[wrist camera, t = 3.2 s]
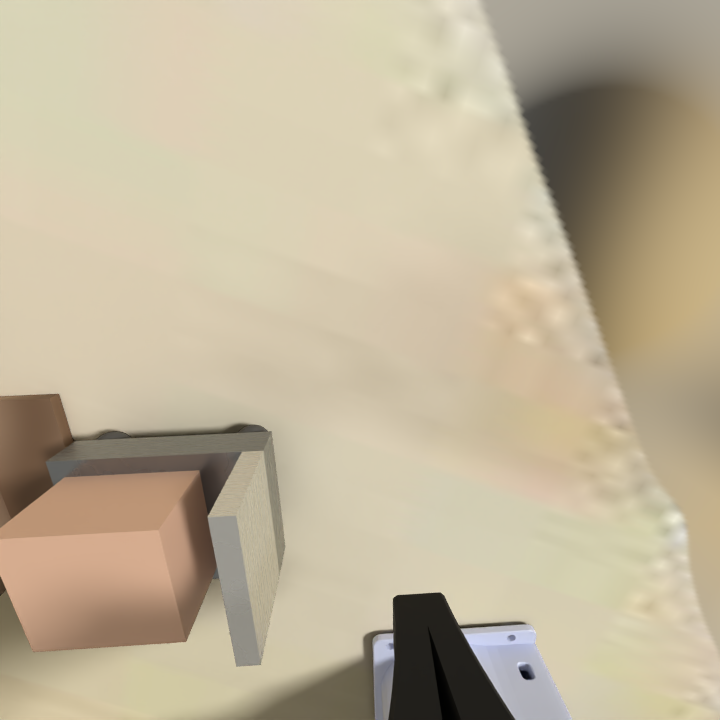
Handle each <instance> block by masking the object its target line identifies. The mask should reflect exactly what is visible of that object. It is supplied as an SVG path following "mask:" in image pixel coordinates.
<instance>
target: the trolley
mask: <svg viewBox="0 0 720 720" xmlns="http://www.w3.org/2000/svg"><path fill="white" fill-rule="evenodd" d="M46 465H47V468H48V471H49V474H50V477H51V479H52V482H53V485H54V486H53V487H52V488H50V489H49V490H48V491H47V492H45V493H44V494H43V495H42V496H40V497H39V498H38V499H36V500H35V501H34V502H33V503H31V504H30V505H29V506H28V507H26V508H25V509H24V510H22V511H21V512H20V513H19V514H17V515H16V516H15V517H14V518H12V519H11V520H10V521H9V522H7V523H6V524H5V525H3V526H2V527H1V528H0V576H1V578H2V581H3V583H4V585H5V588H6V590H7V592H8V595H9V597H10V599H11V602H12V604H13V606H14V609H15V611H16V613H17V616H18V618H19V620H20V623H21V625H22V627H23V630H24V632H25V634H26V637H27V639H28V641H29V644H30V646H31V648H32V651H33V652H41V651H56V650H71V649H86V648H101V647H116V646H131V645H146V644H161V643H177V642H186V641H187V638H188V636H189V634H190V631H191V629H192V626H193V624H194V622H195V619H196V617H197V614H198V612H199V609H200V607H201V605H202V602H203V600H204V597H205V595H206V592H207V590H208V588H209V585H210V583H211V580H212V579H217V578H219V579H220V584H221V589H222V595H223V600H224V605H225V610H226V615H227V620H228V625H229V631H230V636H231V641H232V646H233V651H234V656H235V661H236V667H237V666H251V665H261V661H262V656H263V652H264V647H265V642H266V637H267V632H268V627H269V623H270V618H271V613H272V608H273V603H274V598H275V594H276V589H277V584H278V579H279V574H280V569H281V565H282V560H283V555H284V550H285V540H284V531H283V523H282V515H281V506H280V498H279V489H278V481H277V473H276V464H275V456H274V447H273V439H272V431H269V432H268V431H267V430H266V429H265V428H264V427H262V426H259V425H249V426H246V427H244V428H242V429H241V430H240V431H239V432H238V433H228V434H208V435H187V436H167V437H147V438H131V437H130V436H129V435H127V434H125V433H123V432H117V431H115V432H108V433H105V434H103V435H101V436H100V437H98V438H97V439H96V440H85V441H75V442H74V443H72V444H71V445H69V446H68V447H66V448H65V449H63V450H62V451H60V452H59V453H57V454H56V455H55V456H53V457H52V458H50V459H49V460H47V461H46Z"/></svg>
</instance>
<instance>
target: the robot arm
mask: <svg viewBox="0 0 720 720" xmlns="http://www.w3.org/2000/svg"><path fill="white" fill-rule="evenodd" d="M535 641H536V632H535V630H534V628H533V627H532V626H531V625H528V624H522V625H507V626H492V627H477V628H462V629H460V627H459V625H458V623H457V621H456V619H455V617H454V615H453V613H452V611H451V609H450V607H449V605H448V603H447V601H446V599H445V596H444V595H443V594H442V593H425V594H409V595H397V596H396V597H394V598H393V633H387V634H378V635H376V636H375V637H374V638H373V641H372V643H373V675H374V707H375V720H572V718H571V715H570V713H569V711H568V709H567V707H566V705H565V703H564V701H563V699H562V697H561V695H560V693H559V691H558V689H557V687H556V685H555V683H554V681H553V679H552V677H551V675H550V673H549V671H548V669H547V667H546V664H545V662H544V660H543V658H542V656H541V654H540V652H539V650H538V648H537V646H536V644H535Z"/></svg>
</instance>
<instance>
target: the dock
mask: <svg viewBox="0 0 720 720" xmlns="http://www.w3.org/2000/svg"><path fill="white" fill-rule="evenodd" d="M72 443H74V442H73V438H72V435H71V432H70V429H69V425H68V422H67V419H66V416H65V412H64V409H63V406H62V403H61V399H60V396H59V394H46V395H24V396H2V397H0V528H1V527H2V526H3V525H5V524H6V523H7V522H9V521H10V520H11V519H12V518H14V517H15V516H16V515H17V514H19V513H20V512H21V511H22V510H24V509H25V508H26V507H28V506H29V505H30V504H31V503H33V502H34V501H35V500H36V499H38V498H39V497H40V496H42V495H43V494H44V493H45V492H47V491H48V490H49V489H50V488H52V487H53V486H54V485H53V482H52V479H51V477H50V474H49V471H48V468H47V465H46V461H47V460H49V459H50V458H52V457H53V456H55V455H56V454H57V453H59V452H60V451H62V450H63V449H65V448H66V447H68V446H69V445H71V444H72ZM5 590H6V588H5V585H4V583H3V581H2V578H1V576H0V595H1V594H2V593H3V592H4V591H5Z"/></svg>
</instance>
